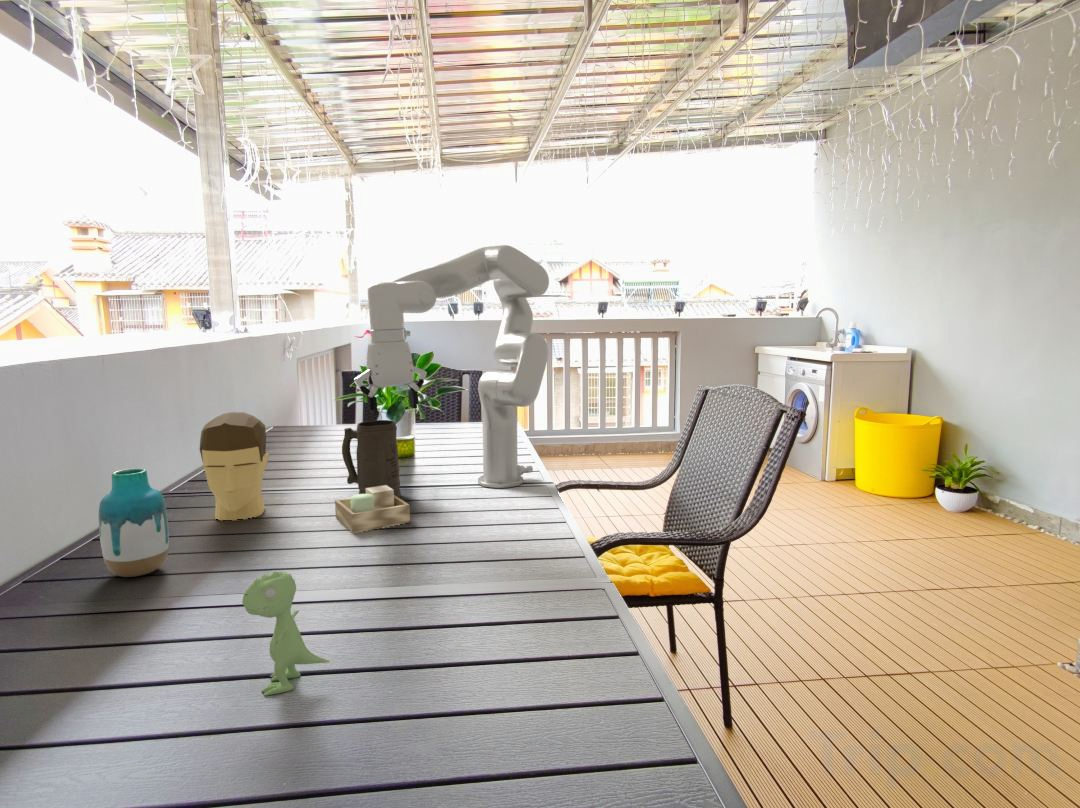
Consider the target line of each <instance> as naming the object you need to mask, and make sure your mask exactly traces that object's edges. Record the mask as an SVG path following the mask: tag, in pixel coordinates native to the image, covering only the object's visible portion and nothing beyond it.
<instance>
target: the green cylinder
mask: <svg viewBox="0 0 1080 808" xmlns="http://www.w3.org/2000/svg"><path fill="white" fill-rule="evenodd" d="M349 498H350V499H351V511H352V512H354V513H359V512H365V511H371V510H374V495H372V494H359V493H357V494H354V495H352V496H350V497H349Z"/></svg>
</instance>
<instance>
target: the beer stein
mask: <svg viewBox="0 0 1080 808" xmlns="http://www.w3.org/2000/svg"><path fill="white" fill-rule="evenodd" d="M396 423H397V422H396V421H394V420H390V419H381V420H380V419H377V420H367V421H362V422H359V423H357V426H356V430H354V429H352V427H347V428H344V437H343V441H342V447H341V454H342V455H341V456H342V458H343V462H344V465H345V467H346V469H347V471H348V472H347V473H348V476H347V478H346V483H347V484H348V485H351V484H357V487H358V489H359V490H358V494H366V489H365V488H370V487H377V486H384V485H387V486H388V487H390V488H392V489H393V490H394V495H395V496H397V497H398V498H401V495H402V492H401V489H400V486H401V480H400V465H399V450H398V443H397V433H398V432H397V431H398V428H397V424H396ZM354 439H355V440H357V441H356V442H357V446H356V451H355V452H356V468H355V466H354V461H353V458H352V455H351V454H352V453H351V442H352V440H354Z"/></svg>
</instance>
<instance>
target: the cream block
mask: <svg viewBox="0 0 1080 808" xmlns="http://www.w3.org/2000/svg"><path fill="white" fill-rule="evenodd" d="M365 489H366V494H372V495H374V510H376V509H382V508H388V507H394V490H393V489H392V488H390V487H388V486H387V485H384V486H377V487H370V488H365Z"/></svg>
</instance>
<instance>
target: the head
mask: <svg viewBox="0 0 1080 808" xmlns="http://www.w3.org/2000/svg"><path fill="white" fill-rule="evenodd" d="M199 439H200V440H199V452H200V453H199V454H200V456H201V461H202V464H203V465H202V466H203V469H204V473H205V477H206V481H207V486H208V489H210V491H211V493H212V494H213V495H214V498H215V511H214V513H215V515H214V519H215V520H216V519H218V520H217V521H223V520H232V521H238V520H237V519H243V520H249V519H248V518H250V519H253V518H252V517H254V518H256V517H260V515H261V516H262V514H263V513H264V512H265V503H264V499H263V496H262V492H263V480H264V473H265V471H266V469H267V466H268V463H269V454H270V453H269V452H266V451H267V450H266V449H267V447H266V446H267V432H266V424H264V423H263V421H262V420H260V419H259V418H257V417H256V416H254V415H252V414H249V413H247V412H243V411H232V412H226V413H224V412H223V413H222V414H220V415H217V416H215V417H214V418H213V419H211V420H210V421H208V422H207V423H206V424H204V426H203V427H202V430H201V431H200V438H199Z"/></svg>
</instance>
